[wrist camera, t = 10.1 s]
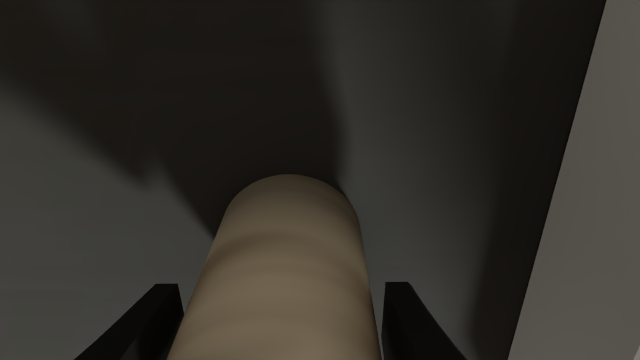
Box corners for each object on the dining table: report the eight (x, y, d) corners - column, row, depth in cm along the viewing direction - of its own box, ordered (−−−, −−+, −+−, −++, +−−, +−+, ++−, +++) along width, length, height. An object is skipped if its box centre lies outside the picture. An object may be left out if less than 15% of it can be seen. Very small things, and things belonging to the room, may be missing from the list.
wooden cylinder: (358, 290, 16) (383, 494, 10) (229, 291, 16) (171, 495, 10) (363, 173, 14) (401, 339, 7) (213, 174, 14) (124, 341, 7)
